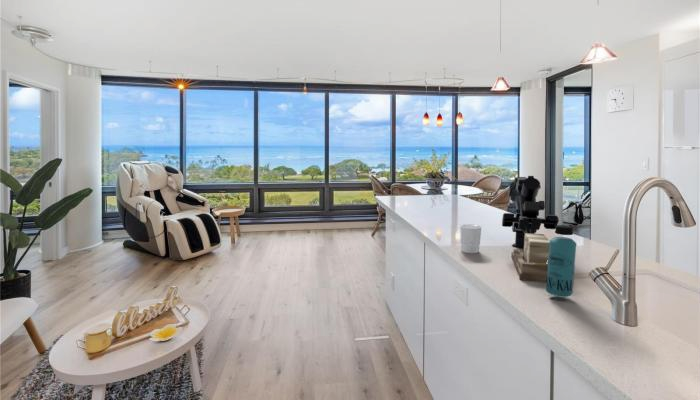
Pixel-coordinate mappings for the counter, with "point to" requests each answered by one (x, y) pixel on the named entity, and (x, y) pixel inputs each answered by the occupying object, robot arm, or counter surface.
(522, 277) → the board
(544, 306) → the counter surface
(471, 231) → the white cup
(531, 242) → the tea box
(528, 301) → the counter surface
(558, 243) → the beverage bottle
